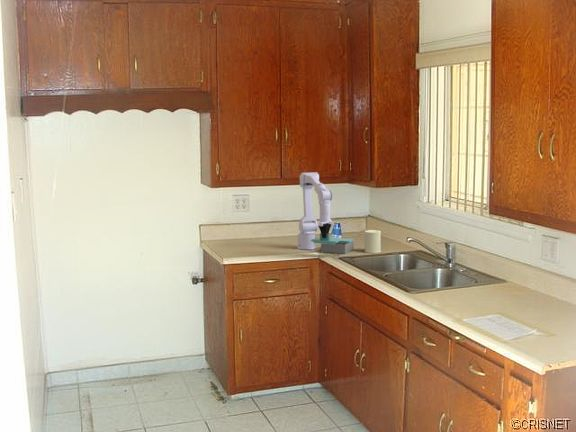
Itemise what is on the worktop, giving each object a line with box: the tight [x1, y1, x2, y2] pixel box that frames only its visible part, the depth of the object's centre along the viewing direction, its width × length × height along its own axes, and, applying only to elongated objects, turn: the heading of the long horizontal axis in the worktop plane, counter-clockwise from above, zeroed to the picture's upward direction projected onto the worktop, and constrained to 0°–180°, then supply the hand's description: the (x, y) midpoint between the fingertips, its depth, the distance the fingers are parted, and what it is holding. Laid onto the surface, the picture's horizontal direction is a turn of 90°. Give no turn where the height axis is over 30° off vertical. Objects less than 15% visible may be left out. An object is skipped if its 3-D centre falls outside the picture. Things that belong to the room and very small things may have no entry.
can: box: [363, 229, 382, 254], centre depth 389 cm, size 9×9×12 cm
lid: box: [311, 232, 340, 244], centre depth 376 cm, size 14×8×5 cm, turn 67°
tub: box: [320, 237, 355, 255], centre depth 392 cm, size 14×16×6 cm
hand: (324, 237), depth 375 cm, fingers closed on lid
